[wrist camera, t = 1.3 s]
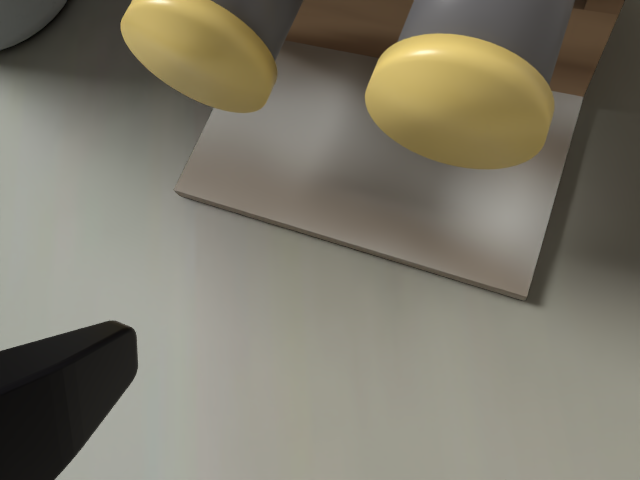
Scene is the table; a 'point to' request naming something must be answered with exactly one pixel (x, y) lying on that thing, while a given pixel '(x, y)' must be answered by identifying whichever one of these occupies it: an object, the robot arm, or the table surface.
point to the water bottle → (25, 18)
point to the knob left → (212, 46)
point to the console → (387, 154)
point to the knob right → (471, 80)
